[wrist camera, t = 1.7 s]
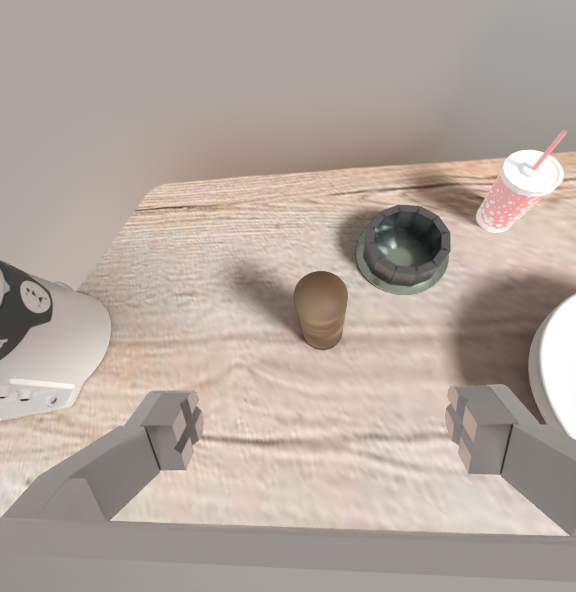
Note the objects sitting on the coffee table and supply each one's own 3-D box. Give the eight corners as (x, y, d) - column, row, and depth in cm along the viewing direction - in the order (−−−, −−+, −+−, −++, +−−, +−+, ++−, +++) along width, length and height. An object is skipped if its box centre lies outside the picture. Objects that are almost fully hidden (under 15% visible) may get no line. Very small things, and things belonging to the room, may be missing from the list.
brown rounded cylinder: (311, 355, 39) (305, 329, 28) (297, 320, 41) (286, 282, 30) (348, 341, 39) (357, 309, 28) (332, 306, 41) (334, 263, 30)
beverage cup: (479, 241, 42) (546, 161, 29) (463, 205, 45) (518, 116, 32) (525, 233, 42) (614, 148, 29) (507, 197, 44) (581, 104, 31)
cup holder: (380, 308, 40) (385, 296, 36) (341, 235, 45) (343, 218, 41) (465, 275, 41) (479, 259, 37) (418, 206, 45) (427, 186, 41)
